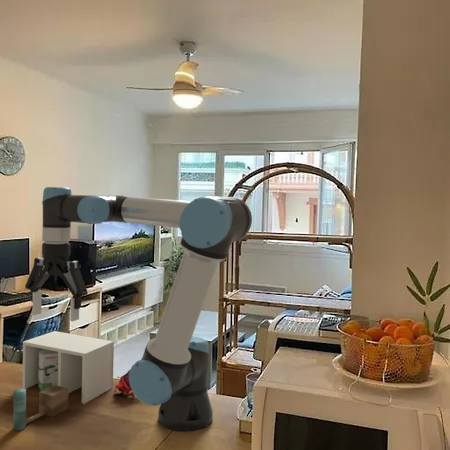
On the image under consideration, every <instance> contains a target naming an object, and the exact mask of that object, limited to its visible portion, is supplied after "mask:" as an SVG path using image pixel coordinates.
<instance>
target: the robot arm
mask: <svg viewBox="0 0 450 450" xmlns="http://www.w3.org/2000/svg"><path fill="white" fill-rule="evenodd" d="M41 204H42V229H41V231H42V233H41V234H42V235H41V239H42V245H41V247H42V248H41V254H42V256H43V257H42V256H41V257H40V256H39V257H35V258H34V261H33V266H32V269H31V271H30V274H29V276H28V278H27V281H26V283H25V287H24V288H25V289H26V290H27V289H28V290H29V291H30V301H31V303H32V312H31V313H32V316H37V315H39V314H42V303H43V302H42V297H43V296H42V293H43V292H42V290H41V288H42V286H43V285H44V284H45V283H46V281H47V280H48V278H49V277H50V276H55V277H59V278H60V279H62V280H63V283H65V285H66V287H67V288H68V290H69V291H70V293H71V295H72V297H70V313H69V314H70V317H69V319H70V320H69V321H70V322H76V321H77V320H80V310H81V308H82V297H84V296H87V295H89V292H88V289H87V286H86V284H85V281H84V279H83V275H82V273H81V270H80V265H79V264H80V263H79V261H78V260H73V261H70V255H71V243H70V241H71V233H72V232H71V229H72V223H79V224H87V225H97V224H98V225H99V224H103V223H108V222H109V223H111V222H112V223H124V224H125V223H126V224H127V223H129V224H137V225H147V226H148V225H149V226H158V227H166V228H167V227H168V228H176V229H179V230H180V233H181V234H180V235H181V240H180V243H179V244H180V246H181V249H182V250H183V254H182V257H181V260H180V264H179V266H178V268H177V270H176V271H177V272H176V274H175V275H176V276H175V278H174V281H173V284H172V287H171V290H170V293H169V296H168V300H167V302H166V305H165V308H164V310H163V314H162V317H161V320H160V322H159V326H158V328H157V332H156V333H155V334H156V335H155V337H154V338H152V339H149V340H148V341H147V343H146V345H145V348H144V351H143V355H142V357H141V358H140V359H139V360H137V361H136V362H134V364H132V366H131V367H130V369H129V370H130V372H129V383H130V387H131V388H132V390H131V391H132V393H133V394H134V397H136V399H137V400H138V401H140V402H141V403H142V404H145V405H147V406H159V408H158V414H157V415H158V417H157V418H158V422H159V424H160V425H162V426H163V427H165V428H167V429H170V430H174V431H175V430H176V431H179V432H180V431H182V432H183V431H184V432H188V431H189V432H190V431H196V430H197V431H198V430H200V429H204V428H205V427H208V426H209V425H210V424H211V423H212V422H213V420H214V419H213V418H214V417H213V414H214V413H213V408H212V404H211V400H210V397H209V393H208V382H209V381H208V378H209V354H210V351H209V342H208V341H207V339H205V338H202V337H201V336H200V337H199V336H194V332H195V330H196V325H197V323H198V320H199V318H200V314H201V312H202V309H203V307H204V303H205V301H206V297H207V295H208V292H209V289H210V287H211V283H212V282H213V278H214V275H215V273H216V272H215V271H216V270H217V267H218V264H219V263H221V262H224V261H225V260H227V256H228V254H229V251H230V249H231V246H232V243H235V242H238V241H240V240H242V239H243V238H245V237H246V236H247V235H248V233H249V232H250V229H251V227H252V223H253V216H252V212H251V209H250V208H249V206H248V204H247V203H246V202H245V201H243V200H242V199H240V198H238V197H235V196H216V195H204V196H201V197H197V198H194V199H192V200H182V199H181V200H179V199H165V198H164V199H163V198H149V197H138V196H137V197H134V196H125V195H94V194H93V195H92V194H90V195H84V194H77V195H75V194H73V193H72V189H71V188H70V187H60V186H59V187H55V186H46V187H45V188H44V189H43V192H42V201H41Z"/></svg>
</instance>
